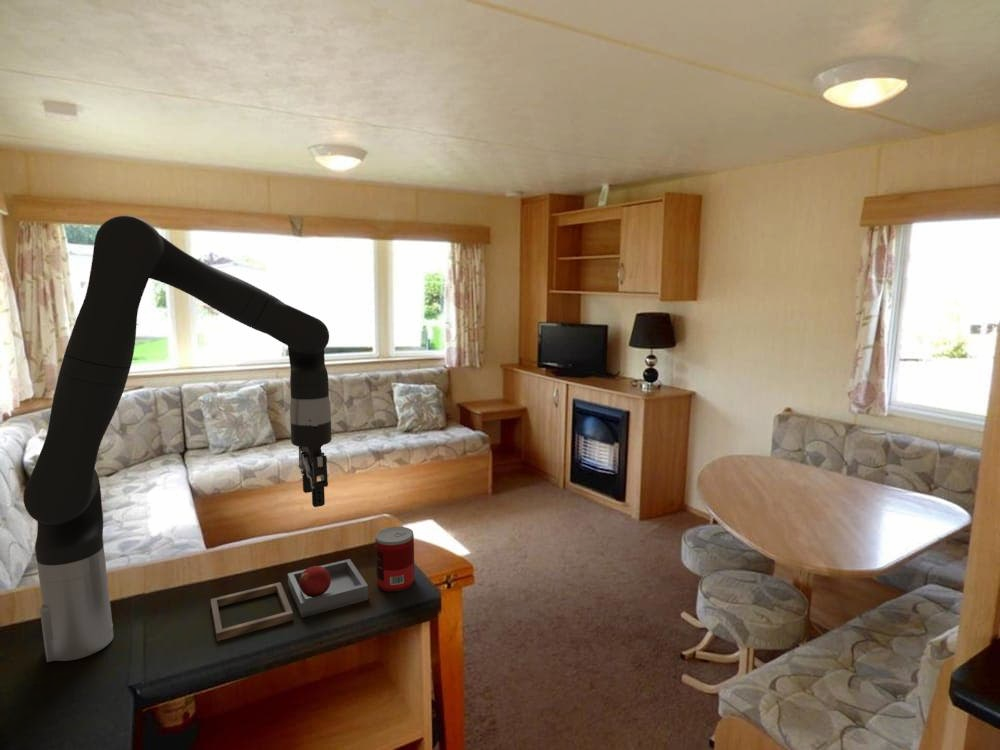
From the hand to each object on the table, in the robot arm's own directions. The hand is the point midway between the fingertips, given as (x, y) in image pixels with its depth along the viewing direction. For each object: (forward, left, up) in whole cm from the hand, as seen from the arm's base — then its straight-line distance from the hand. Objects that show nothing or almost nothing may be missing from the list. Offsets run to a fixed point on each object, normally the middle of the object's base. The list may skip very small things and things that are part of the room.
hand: (313, 498), depth 116 cm
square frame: (-13, -1, -20) cm, 24 cm away
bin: (+2, -1, -20) cm, 20 cm away
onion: (+2, -1, -19) cm, 19 cm away
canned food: (+15, -4, -21) cm, 26 cm away
